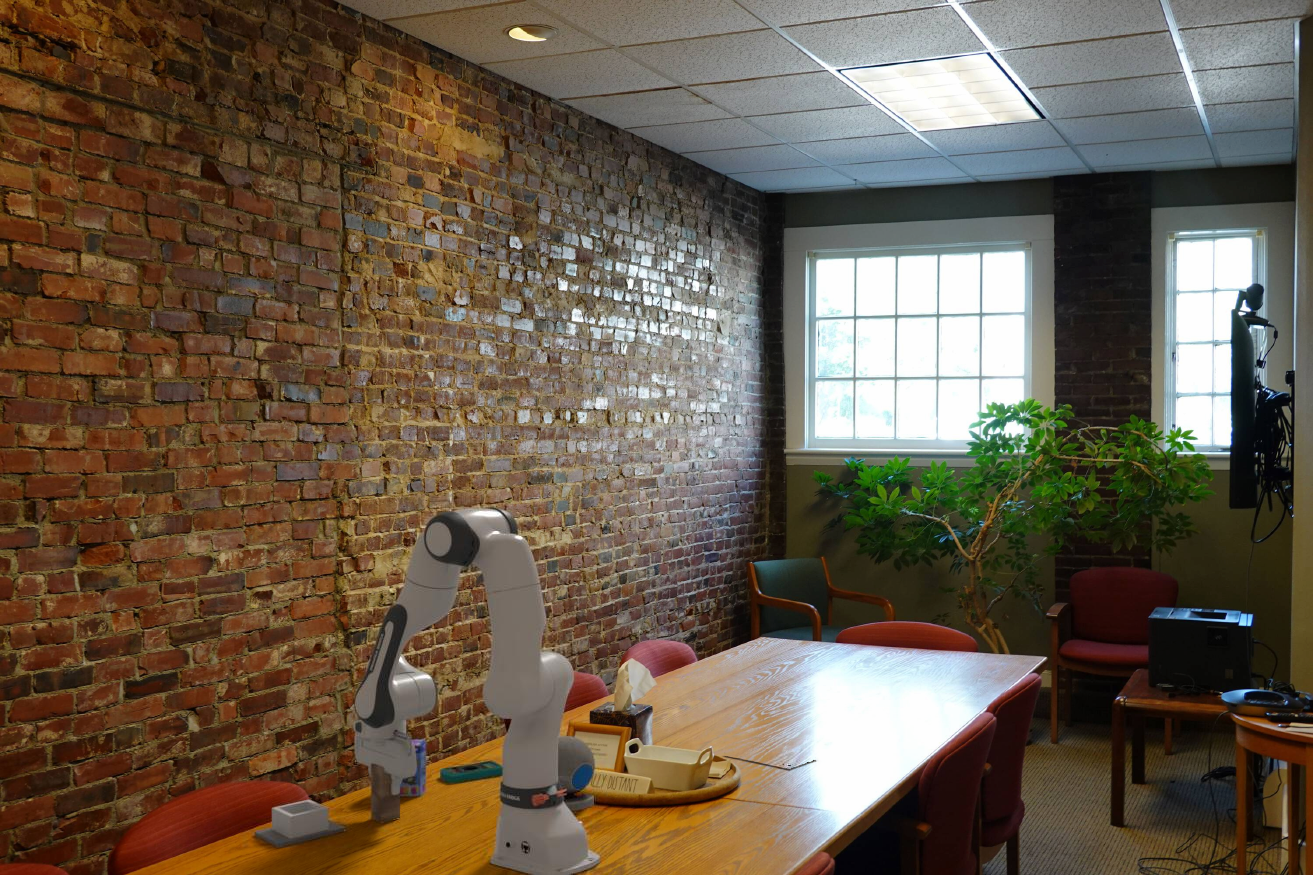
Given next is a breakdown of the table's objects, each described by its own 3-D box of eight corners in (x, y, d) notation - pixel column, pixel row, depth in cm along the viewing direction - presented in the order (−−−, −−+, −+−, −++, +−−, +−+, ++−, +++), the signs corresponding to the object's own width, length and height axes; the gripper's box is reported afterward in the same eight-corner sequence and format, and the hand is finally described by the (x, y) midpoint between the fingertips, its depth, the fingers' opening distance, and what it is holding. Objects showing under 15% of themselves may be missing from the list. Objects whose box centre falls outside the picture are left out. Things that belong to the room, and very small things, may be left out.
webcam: (570, 791, 272) (570, 727, 273) (606, 802, 263) (606, 736, 264) (527, 802, 263) (527, 736, 264) (563, 814, 254) (562, 746, 254)
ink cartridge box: (379, 796, 268) (379, 734, 269) (385, 790, 274) (385, 728, 274) (421, 797, 268) (421, 734, 268) (426, 790, 274) (426, 729, 274)
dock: (345, 830, 244) (345, 805, 244) (278, 847, 233) (278, 821, 233) (320, 819, 252) (320, 795, 252) (254, 835, 241) (254, 809, 241)
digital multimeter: (437, 779, 285) (437, 767, 285) (492, 770, 293) (492, 758, 293) (449, 786, 279) (449, 774, 279) (505, 776, 287) (505, 764, 287)
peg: (400, 818, 252) (400, 763, 252) (381, 823, 249) (381, 767, 249) (389, 814, 255) (389, 759, 255) (371, 818, 252) (371, 763, 252)
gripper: (423, 732, 247) (423, 797, 247) (374, 717, 262) (374, 778, 261) (398, 737, 243) (398, 803, 242) (349, 721, 257) (349, 784, 257)
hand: (385, 790), depth 252 cm, fingers open, 6 cm apart
